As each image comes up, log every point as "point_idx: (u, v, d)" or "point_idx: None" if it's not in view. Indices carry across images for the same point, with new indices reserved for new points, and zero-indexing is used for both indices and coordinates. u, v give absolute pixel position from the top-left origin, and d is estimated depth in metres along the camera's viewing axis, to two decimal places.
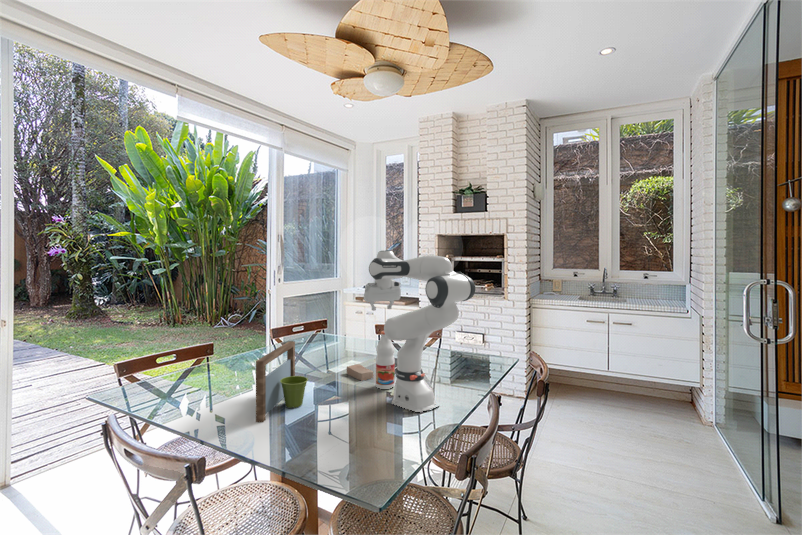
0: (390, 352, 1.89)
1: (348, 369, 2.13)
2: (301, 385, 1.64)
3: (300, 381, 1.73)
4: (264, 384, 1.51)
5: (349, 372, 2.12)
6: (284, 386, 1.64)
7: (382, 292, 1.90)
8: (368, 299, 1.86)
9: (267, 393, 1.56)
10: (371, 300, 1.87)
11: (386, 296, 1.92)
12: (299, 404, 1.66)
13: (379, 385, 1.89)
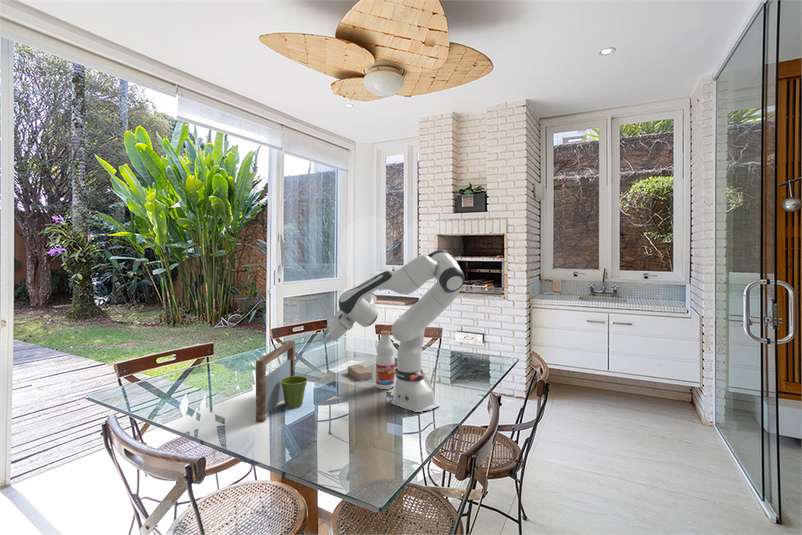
0: (390, 352, 1.89)
1: (349, 369, 2.13)
2: (301, 385, 1.64)
3: (300, 381, 1.73)
4: (264, 384, 1.51)
5: (349, 372, 2.12)
6: (284, 386, 1.63)
7: (335, 321, 1.72)
8: (330, 319, 1.80)
9: (267, 393, 1.56)
10: (329, 321, 1.78)
11: (331, 325, 1.70)
12: (299, 404, 1.66)
13: (379, 385, 1.89)
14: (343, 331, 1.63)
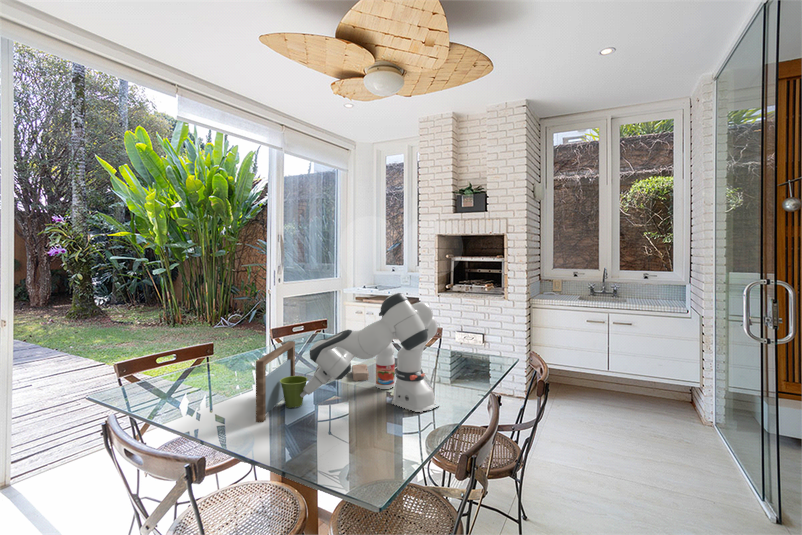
0: (390, 352, 1.89)
1: (352, 368, 2.15)
2: (301, 385, 1.64)
3: (300, 381, 1.73)
4: (264, 384, 1.51)
5: (352, 371, 2.14)
6: (284, 386, 1.64)
7: None
8: None
9: (267, 393, 1.56)
10: None
11: None
12: (299, 404, 1.66)
13: (379, 385, 1.89)
14: (317, 385, 1.60)
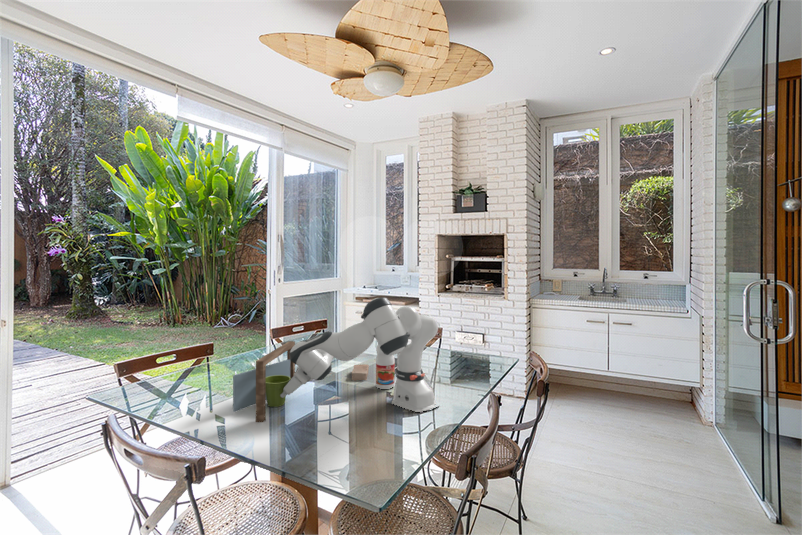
0: None
1: None
2: (281, 385, 1.65)
3: (284, 381, 1.73)
4: (264, 384, 1.51)
5: None
6: None
7: None
8: None
9: (240, 390, 1.60)
10: None
11: None
12: (280, 404, 1.66)
13: (379, 385, 1.89)
14: (297, 385, 1.61)
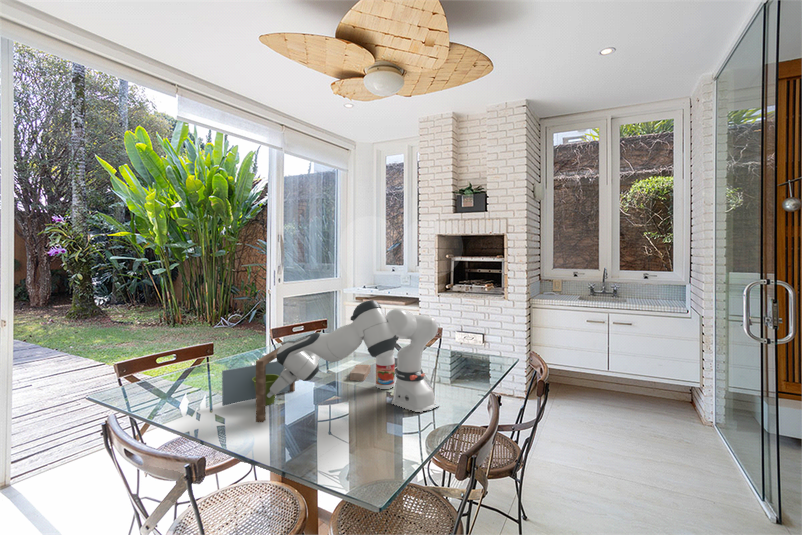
0: None
1: None
2: (266, 384, 1.65)
3: None
4: (264, 384, 1.51)
5: None
6: None
7: None
8: None
9: (229, 385, 1.66)
10: None
11: None
12: (266, 403, 1.67)
13: (379, 385, 1.89)
14: (283, 384, 1.61)
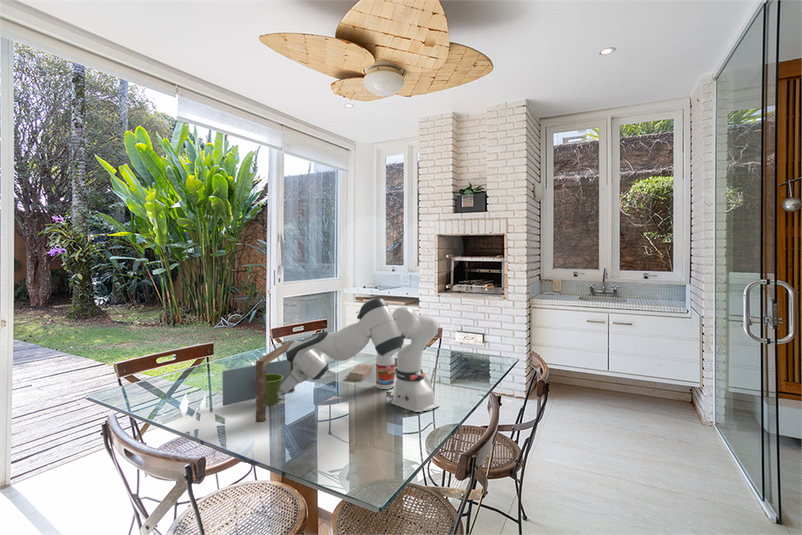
0: None
1: None
2: (270, 384, 1.66)
3: (279, 380, 1.74)
4: (264, 384, 1.51)
5: None
6: None
7: None
8: None
9: (229, 385, 1.65)
10: None
11: None
12: (270, 402, 1.68)
13: (379, 385, 1.89)
14: (293, 383, 1.62)
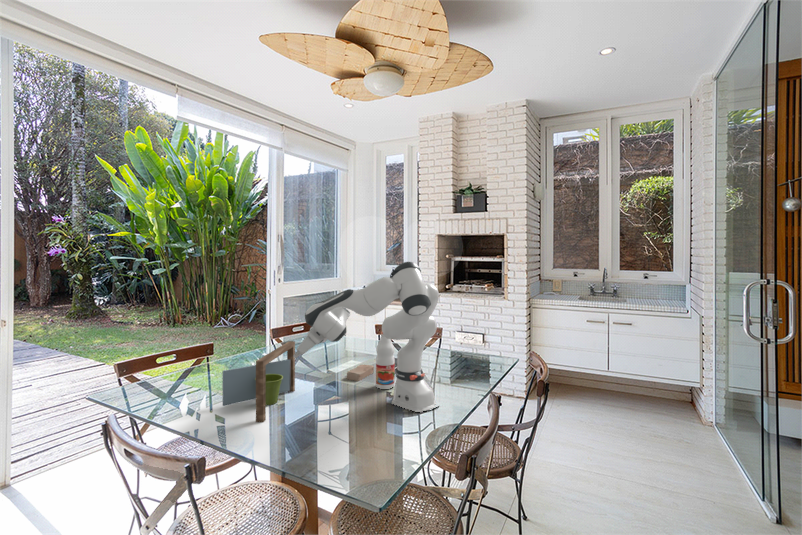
0: (390, 352, 1.89)
1: None
2: (270, 384, 1.66)
3: (279, 380, 1.74)
4: (264, 384, 1.51)
5: None
6: None
7: None
8: None
9: (229, 385, 1.65)
10: None
11: None
12: (270, 402, 1.68)
13: (379, 385, 1.89)
14: (310, 345, 1.61)
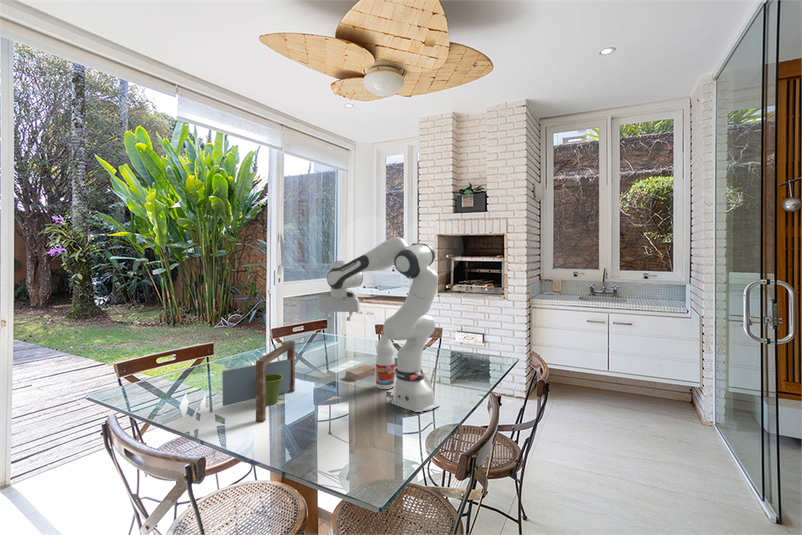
0: (390, 352, 1.89)
1: None
2: (270, 384, 1.66)
3: (279, 380, 1.74)
4: (264, 384, 1.51)
5: None
6: None
7: (336, 302, 1.92)
8: (320, 308, 1.92)
9: (229, 385, 1.65)
10: (323, 309, 1.92)
11: (341, 307, 1.92)
12: (270, 402, 1.68)
13: (379, 385, 1.89)
14: (358, 299, 1.94)
